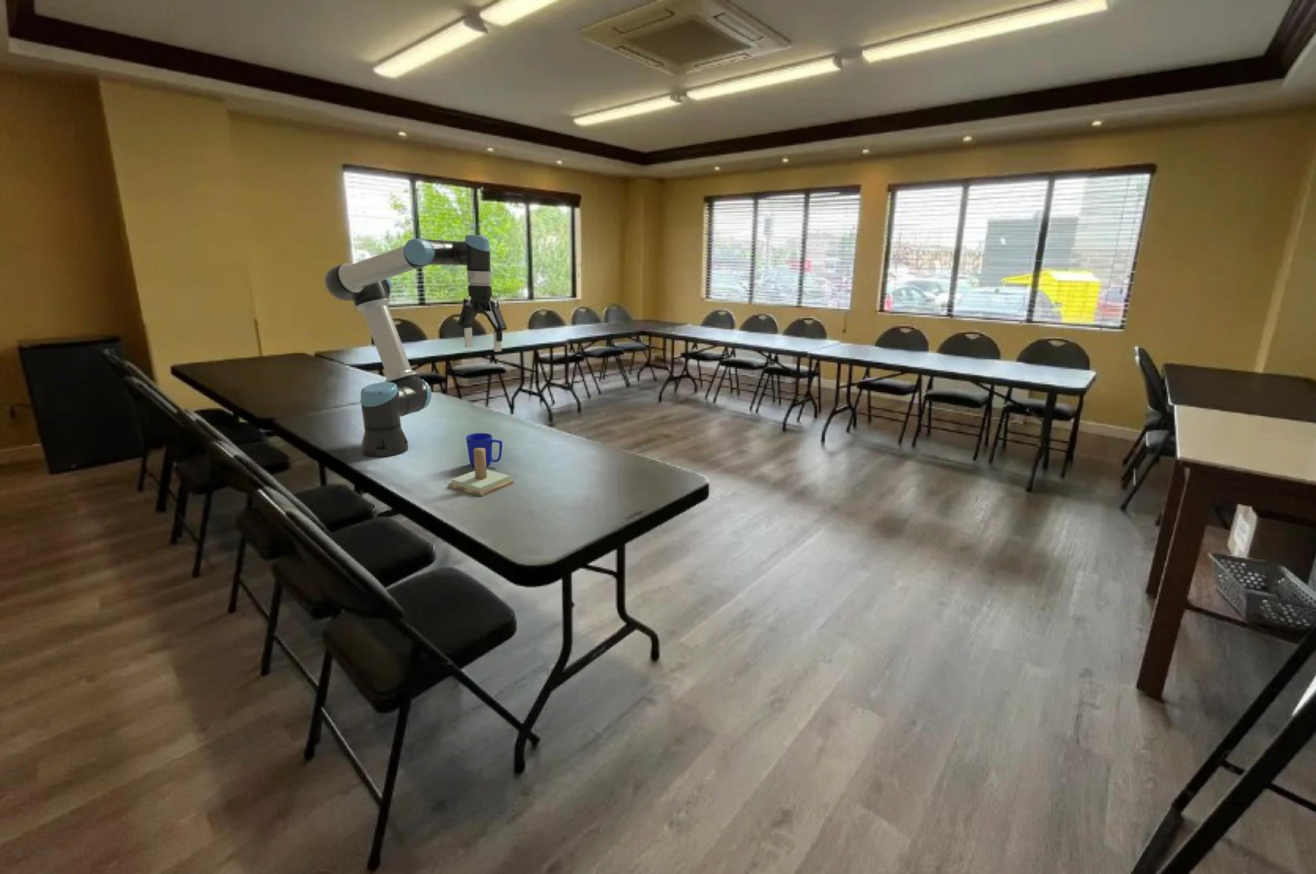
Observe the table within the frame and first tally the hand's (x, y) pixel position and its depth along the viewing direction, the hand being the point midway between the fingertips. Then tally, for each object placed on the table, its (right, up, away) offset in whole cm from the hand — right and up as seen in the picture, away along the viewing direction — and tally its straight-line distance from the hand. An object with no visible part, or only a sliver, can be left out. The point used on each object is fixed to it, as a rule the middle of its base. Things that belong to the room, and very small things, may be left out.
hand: (483, 349), depth 195 cm
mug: (+2, -40, -3) cm, 40 cm away
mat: (+5, -44, -19) cm, 49 cm away
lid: (+5, -44, -20) cm, 48 cm away
